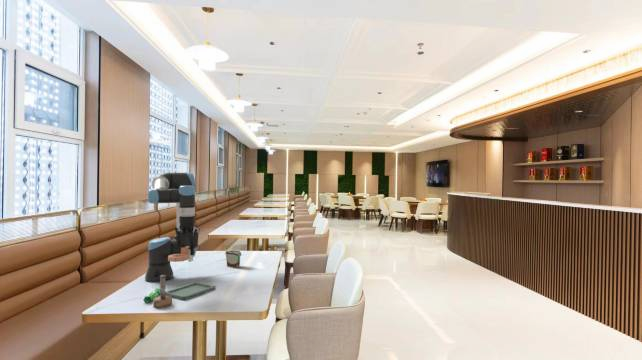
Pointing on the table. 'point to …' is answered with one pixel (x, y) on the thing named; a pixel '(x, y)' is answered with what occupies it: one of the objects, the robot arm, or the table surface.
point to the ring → (179, 255)
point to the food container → (233, 258)
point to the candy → (152, 295)
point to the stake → (162, 296)
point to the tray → (189, 291)
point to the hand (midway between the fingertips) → (187, 260)
